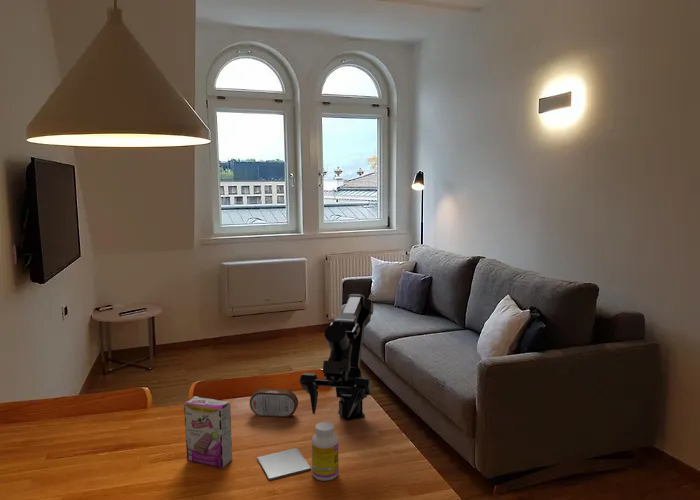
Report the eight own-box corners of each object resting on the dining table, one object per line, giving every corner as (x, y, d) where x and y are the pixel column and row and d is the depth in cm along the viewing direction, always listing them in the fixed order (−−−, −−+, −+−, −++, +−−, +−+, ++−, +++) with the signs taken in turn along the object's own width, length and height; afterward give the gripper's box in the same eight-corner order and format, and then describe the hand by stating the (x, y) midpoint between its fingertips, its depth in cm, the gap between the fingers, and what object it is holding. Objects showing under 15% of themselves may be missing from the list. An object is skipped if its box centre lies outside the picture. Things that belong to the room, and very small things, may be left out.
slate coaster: (296, 449, 144) (296, 447, 144) (311, 469, 134) (311, 467, 134) (257, 458, 140) (257, 457, 139) (269, 480, 130) (269, 478, 130)
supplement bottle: (338, 482, 129) (337, 432, 127) (311, 482, 129) (310, 432, 127) (339, 467, 135) (338, 419, 134) (313, 467, 136) (312, 419, 134)
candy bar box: (185, 462, 138) (182, 402, 136) (197, 452, 143) (194, 395, 141) (222, 469, 135) (220, 408, 132) (233, 459, 139) (231, 400, 137)
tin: (298, 414, 165) (298, 388, 164) (296, 419, 162) (296, 393, 161) (251, 412, 167) (250, 387, 166) (248, 417, 164) (248, 391, 163)
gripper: (300, 344, 141) (288, 400, 132) (369, 348, 138) (362, 406, 129) (309, 362, 150) (298, 416, 141) (374, 366, 146) (367, 422, 137)
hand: (330, 415), depth 137 cm, fingers open, 9 cm apart
